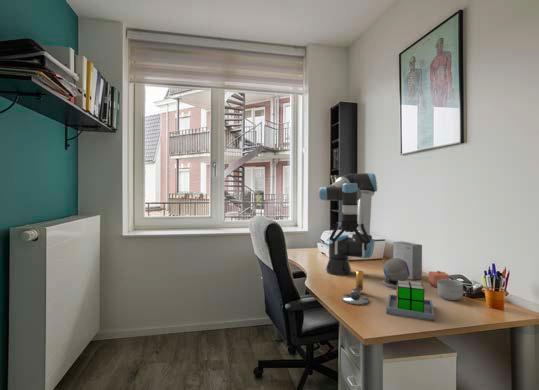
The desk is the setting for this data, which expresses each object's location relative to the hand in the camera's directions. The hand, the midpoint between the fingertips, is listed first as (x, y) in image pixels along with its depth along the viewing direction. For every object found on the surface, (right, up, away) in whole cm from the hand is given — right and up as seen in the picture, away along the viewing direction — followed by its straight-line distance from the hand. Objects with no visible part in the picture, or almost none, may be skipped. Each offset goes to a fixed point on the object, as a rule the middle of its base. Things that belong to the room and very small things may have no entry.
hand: (349, 255), depth 153 cm
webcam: (+28, -19, +10) cm, 35 cm away
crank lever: (+2, -17, -7) cm, 18 cm away
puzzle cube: (+20, -18, -23) cm, 35 cm away
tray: (+20, -19, -23) cm, 36 cm away
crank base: (-1, -18, -12) cm, 22 cm away
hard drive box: (+42, -18, +28) cm, 54 cm away
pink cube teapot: (+50, -19, +9) cm, 54 cm away
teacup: (+47, -19, -8) cm, 51 cm away
